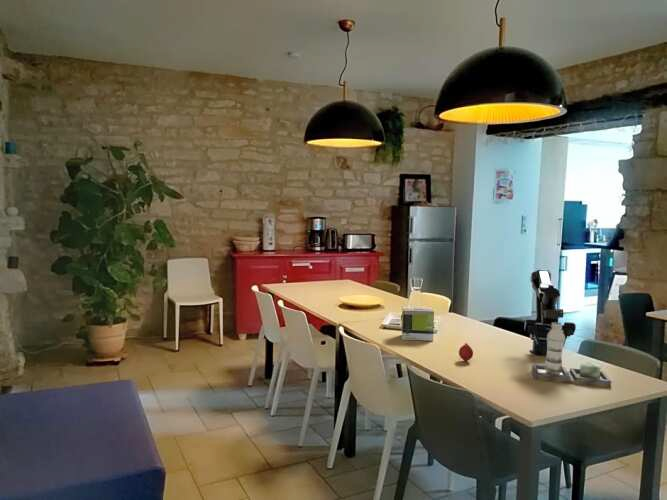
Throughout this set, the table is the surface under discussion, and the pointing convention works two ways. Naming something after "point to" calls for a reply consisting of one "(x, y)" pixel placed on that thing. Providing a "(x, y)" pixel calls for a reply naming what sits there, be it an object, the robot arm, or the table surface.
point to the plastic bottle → (554, 349)
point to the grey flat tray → (575, 375)
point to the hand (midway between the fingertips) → (550, 345)
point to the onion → (466, 352)
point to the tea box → (417, 323)
